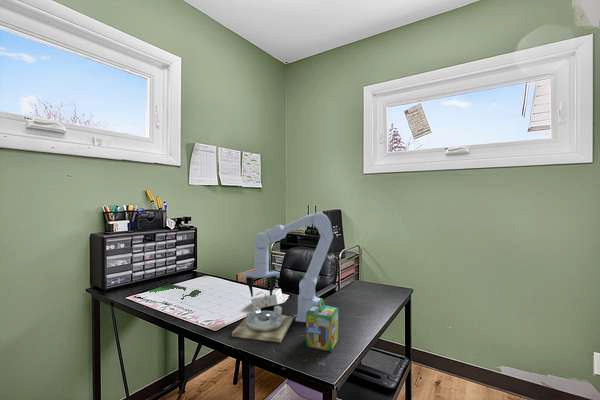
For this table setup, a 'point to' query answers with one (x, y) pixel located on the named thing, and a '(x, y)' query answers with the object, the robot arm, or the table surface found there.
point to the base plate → (267, 336)
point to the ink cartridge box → (268, 298)
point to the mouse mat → (171, 286)
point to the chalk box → (322, 326)
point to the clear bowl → (264, 319)
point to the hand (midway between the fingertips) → (261, 295)
